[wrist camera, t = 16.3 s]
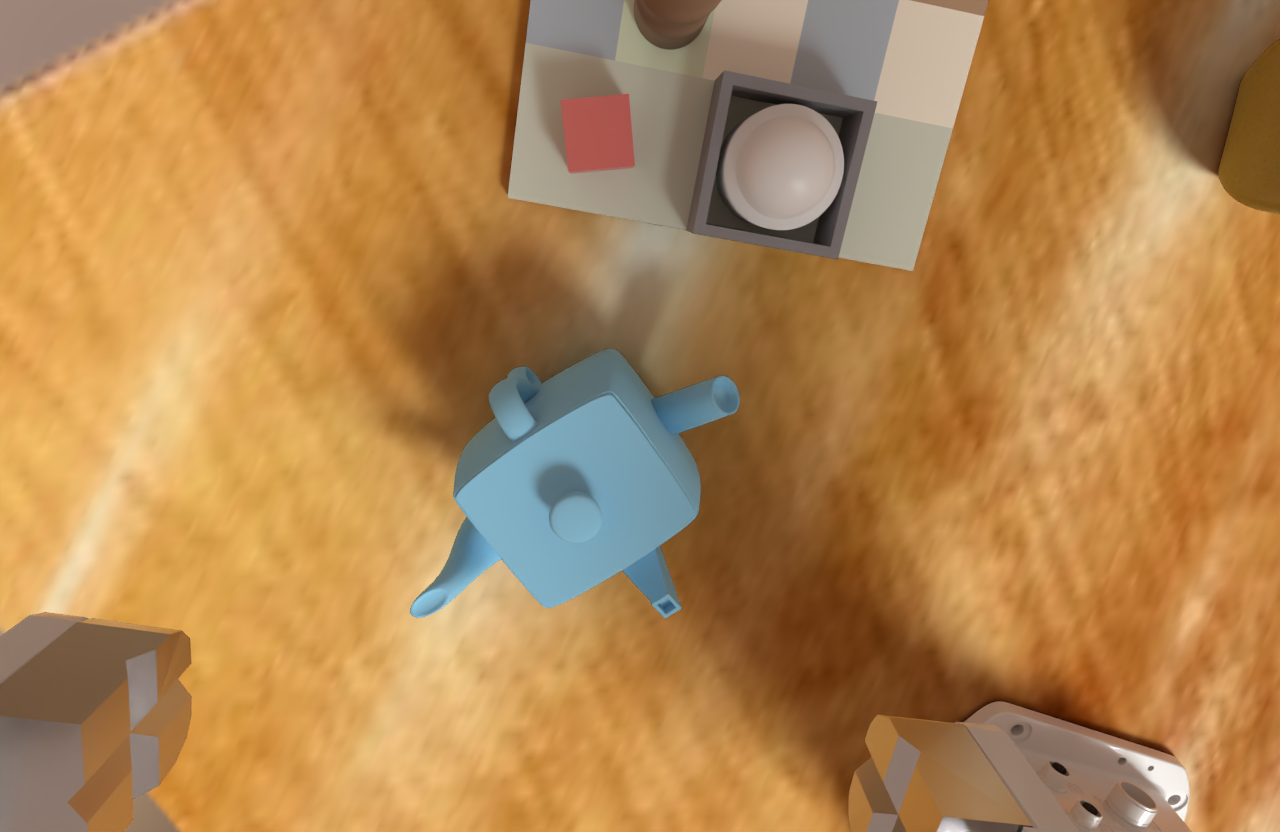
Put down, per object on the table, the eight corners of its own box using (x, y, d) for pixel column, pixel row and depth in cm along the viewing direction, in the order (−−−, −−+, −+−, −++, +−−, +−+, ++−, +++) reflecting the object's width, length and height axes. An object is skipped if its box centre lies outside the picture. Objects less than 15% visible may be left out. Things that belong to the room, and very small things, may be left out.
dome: (837, 122, 35) (874, 111, 30) (810, 236, 36) (842, 243, 31) (728, 101, 34) (748, 85, 29) (705, 216, 36) (721, 220, 31)
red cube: (627, 101, 34) (629, 93, 32) (632, 167, 35) (635, 165, 32) (564, 107, 34) (560, 99, 32) (571, 173, 35) (568, 172, 32)
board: (980, -2, 35) (1026, -26, 31) (905, 269, 38) (938, 277, 35) (545, -97, 33) (536, -136, 29) (510, 197, 36) (498, 198, 33)
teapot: (652, 257, 38) (668, 280, 28) (787, 464, 41) (841, 546, 32) (382, 443, 40) (311, 522, 30) (533, 622, 44) (512, 743, 34)
